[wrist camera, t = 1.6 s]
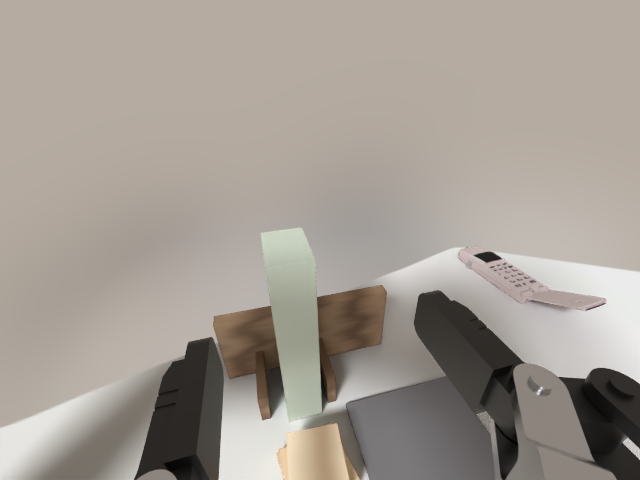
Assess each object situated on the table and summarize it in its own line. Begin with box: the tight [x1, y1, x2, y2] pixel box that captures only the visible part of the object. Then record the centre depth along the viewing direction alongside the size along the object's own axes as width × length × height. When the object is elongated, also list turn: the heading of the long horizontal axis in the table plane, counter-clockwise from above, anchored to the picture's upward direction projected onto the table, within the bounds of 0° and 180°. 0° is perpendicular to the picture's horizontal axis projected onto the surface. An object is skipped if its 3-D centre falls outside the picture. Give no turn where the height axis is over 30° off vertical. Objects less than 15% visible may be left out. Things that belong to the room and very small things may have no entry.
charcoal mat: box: [346, 377, 495, 480], centre depth 29 cm, size 14×14×1 cm
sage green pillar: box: [261, 227, 322, 422], centre depth 30 cm, size 4×6×22 cm, turn 14°
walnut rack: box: [213, 285, 387, 420], centre depth 35 cm, size 22×8×10 cm, turn 104°
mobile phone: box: [458, 246, 607, 311], centre depth 51 cm, size 6×6×25 cm
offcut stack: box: [276, 422, 360, 480], centre depth 27 cm, size 7×7×4 cm
